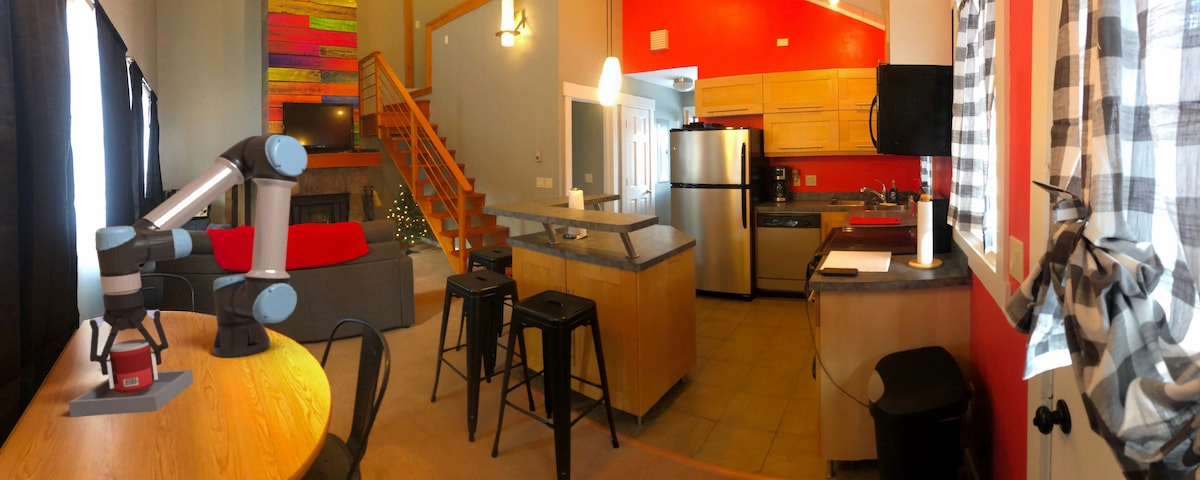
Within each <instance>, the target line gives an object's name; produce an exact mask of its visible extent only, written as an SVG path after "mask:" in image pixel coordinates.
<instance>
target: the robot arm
mask: <svg viewBox="0 0 1200 480" xmlns="http://www.w3.org/2000/svg"><path fill="white" fill-rule="evenodd" d="M307 166H308V154H307V151H306V149H305V147H304V146H303V145H302V143H301V142H300V141H299V140H298V139H296V138H295V137H292V136H290V135H283V134H281V135H280V134H273V135H270V134H269V135H252V136H249V137H246V138H243V139H242V140H240V141H238V142H236V143H235V144H233V145H232V146H231V147H230V148H229V147H228V149H227V150H226V151H224V152H223V153H221V154H220V155H219V156H216V158H215V159H214V164H213V165H211V166H210V167H209V168H207V169H206V170H204V172H202V173H200V175H198V176H197V177H195V178H194V179H192V180H191V181H190V182H189V183H187V184H186V185H185V186H184V187H182V188H181V189H179V190H178V191H177V192H176V193H174V194H173V195H171V196H170V197H168V199H166V200H165V201H163V202H161V204H159V205H158V206H157V207H155V208H153V210H151V211H150V212H149V213H147V214H145V215H144V216H143V217H142V218H140V219H139V220H137V221H136V222H134V224H132V225H130V226H129V225H117V226H116V225H115V226H107V227H105V226H104V227H101V228H99V229H97V230H96V231H95V235H94V236H95V238H94V239H95V240H94V241H95V251H96V254H97V255H96V256H97V260H98V261H97V262H98V267H99V275H100V276H99V278H100V285H101V291H102V292H103V293H104V294H103V295H102V300H103V306H104V313H103V316H100V317H97V318H90V319H89V325H90V328H91V340H90V349H89V361H90V362H92V363H93V362H96V363H97V362H98V363H99V364H100V371H101V375H102V376H108V379H109V383H110V389H112V388H114V383H113V375H112V368H111V361H110V358H109V357H110V355H109V353H110V349H111V348H112V345H113V344H115V339H117V338H116V337H117V335H118V333H119V332H123V331H126V330H135V329H137V330H138V332H139V333H140V334H141V335H142V336H141V337H143V339H145V340H146V341H147V342H148V343H149V345H150V349H151V350H152V351H151V358H152V366H153V374H154V380H157V379H158V374H157V372H158V366H161V365H162V363H163V362H162V355H161V353H162V351H164V350H168V349H169V343H168V340H167V337H166V334H165V331H164V329H163V324H162V323H161V311H160V309H158V308H157V309H154V310H152V309H151V310H149V309H146V308H145V304H144V295H143V290H141V288H142V287H143V286H142V281H141V280H142V279H141V278H142V277H141V271H140V265H141V264H146V263H153V262H160V261H168V260H177V259H179V258H180V259H181V258H184V257H187V256H189V255H190V254H191V252H192V250H193V240H192V238H191V235H190V233H189V232H188V231H187V230H186V229H184V228H181V227H183V226H184V225H185V224H187V222H189V221H190V220H191V219H192V218H194V217H195V216H197V215H198V214H199V213H201V212H202V211H203V210H204V209H205V208H206V207H208V206H210V205H211V204H212V203H213V202H215V201H216V200H217V199H218V198H219V197H221V196H222V195H223V194H225V193H226V192H227V191H228V190H229V189H231V188H232V187H234V185H242V184H244V183H245V182H246V181H247V180H249V179H252V181H253V182H254V183H255V184H256V186H257V194H256V195H257V196H256V208H255V209H256V210H255V218H254V219H255V222H254V223H255V224H254V234H253V236H254V237H253V247H252V258H251V259H252V260H251V269H250V270H249V271H248V272H247V273H239V274H233V275H227V276H222V277H217V278H216V279H215V280H213V283H212V284H213V286H212V287H213V291H212V293H213V297H214V299H213V300H214V306H215V315H216V327H217V329H216V333H215V337H214V341H213V345H212V352H213V356H216V357H219V358H237V357H245V356H250V355H254V354H257V353H261V352H264V351H265V350H268V349H269V348H270V347H271V338H270V336H269V334H268V331H267V330H266V327H265V326H264V324H276V323H280V322H283V321H284V320H286V319H287V318H288V317H289V316H291V315H292V313H293V312H294V310H295V309H296V307H297V304H298V303H297V302H298V295H297V292H296V290H294V287H293V286H291V275H290V274H289V273H288V272H287V271H286V265H287V264H286V263H287V262H286V261H287V249H288V248H287V247H288V238H289V237H288V236H289V222H290V210H291V196H292V190H293V188H294V187H296V186H297V185H298V179H299V176H300V174H301V175H302V174H303V171H304V172H305V170H306V169H307ZM147 316H149V318H150V319H151V320H153V323H154V326H155V329H156V332H157V335H158V337H159V341H160V344H158V343H157V342H156V341H155V340H154V338H153V337H152V335H151V334H150V332H148V331H149V330H147V329H146V328H145V326H144V324H143V323H142V322H143V321H144V319H146V317H147ZM104 322H105V323H107V324H108V325H109V326H110V327H111V328H110V331H109V334H108V336H107V339H106V342H105V344H104V347H103V350H102V351H101V354H98V348H99V347H98V345H99V336H100V334H99V333H100V330H99V329H100V328H101V327H102V326H103V323H104Z"/></svg>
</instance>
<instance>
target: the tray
mask: <svg viewBox="0 0 1200 480" xmlns="http://www.w3.org/2000/svg"><path fill="white" fill-rule="evenodd" d="M157 374H158V379H157V380H154V383H153V385H152V386H150V387H148V388H146V389H143V390H140V391H136V392H130V393H118V392H116V391H115V389H114V388H112V389H110V383H109V378H107V379H106V380H104V381H102V382H101V383H99V384H97V385H95V386H93V387H92V388H90V389H89V390H87V391H85V392H84V393H82V394H81V395H80V394H79V396H77V397H75V398H73V399H72V400H70V401H68V409H69V415H70V418H74V417H75V418H76V417H77V418H78V417H87V416H88V417H90V416H104V415H117V414H131V413H132V414H133V413H144V412H157V411H159V410H160V409H162V408H163V407H164V406H165V405H166V404H168V403H169V402H171V401H172V400H173V399H175V397H177V396H178V395H180V394H181V393H182V392H183V391H185V390H186V389H187V388H188V387H189V386H191V385H192V384H194V374H193V370H192V369H182V370H168V371H157Z"/></svg>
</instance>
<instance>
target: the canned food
mask: <svg viewBox="0 0 1200 480" xmlns="http://www.w3.org/2000/svg"><path fill="white" fill-rule="evenodd" d="M151 352H152V348H151V346H150V345H149V343H148V342H147V341H146V340H145V338H143V339H142V338H138V339H130V340H125V341H120V342H117V343H113V345H112V348H111V349H110V353H109V359H110V361H111V368H112V375H113V383H114V389H115V391H116V392H118V393H130V392H136V391H140V390H143V389H146V388H148V387H150V386H152V385H153V383H154V374H153V366H152V358H151Z"/></svg>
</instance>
